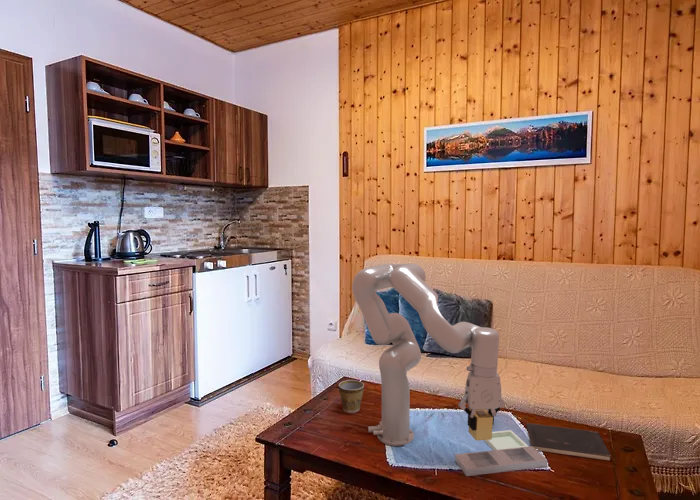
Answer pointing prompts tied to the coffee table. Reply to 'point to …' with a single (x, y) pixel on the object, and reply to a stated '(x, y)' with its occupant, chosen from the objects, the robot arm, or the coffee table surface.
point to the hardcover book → (567, 441)
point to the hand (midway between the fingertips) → (480, 426)
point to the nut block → (482, 426)
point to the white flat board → (500, 460)
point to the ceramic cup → (351, 395)
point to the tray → (505, 440)
